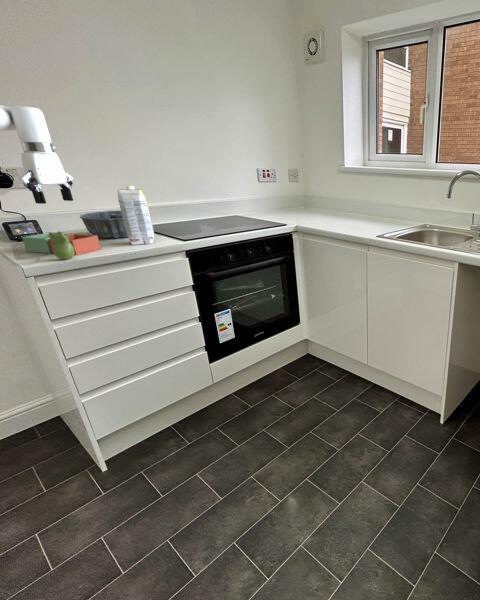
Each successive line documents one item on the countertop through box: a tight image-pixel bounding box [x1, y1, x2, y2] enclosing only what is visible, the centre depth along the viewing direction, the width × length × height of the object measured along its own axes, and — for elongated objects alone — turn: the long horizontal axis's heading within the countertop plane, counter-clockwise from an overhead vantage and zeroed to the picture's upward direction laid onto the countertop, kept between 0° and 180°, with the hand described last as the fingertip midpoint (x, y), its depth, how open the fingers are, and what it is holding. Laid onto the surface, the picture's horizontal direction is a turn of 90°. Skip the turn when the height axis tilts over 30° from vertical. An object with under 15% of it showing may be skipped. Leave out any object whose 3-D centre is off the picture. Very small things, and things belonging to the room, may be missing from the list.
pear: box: [50, 231, 75, 261], centre depth 125 cm, size 6×5×10 cm
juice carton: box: [117, 185, 155, 246], centre depth 150 cm, size 9×8×24 cm
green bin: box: [21, 231, 73, 254], centre depth 139 cm, size 10×10×6 cm
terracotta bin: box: [49, 233, 102, 256], centre depth 137 cm, size 10×10×6 cm
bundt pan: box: [79, 210, 128, 239], centre depth 166 cm, size 26×26×10 cm
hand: (55, 201), depth 122 cm, fingers open, 9 cm apart
